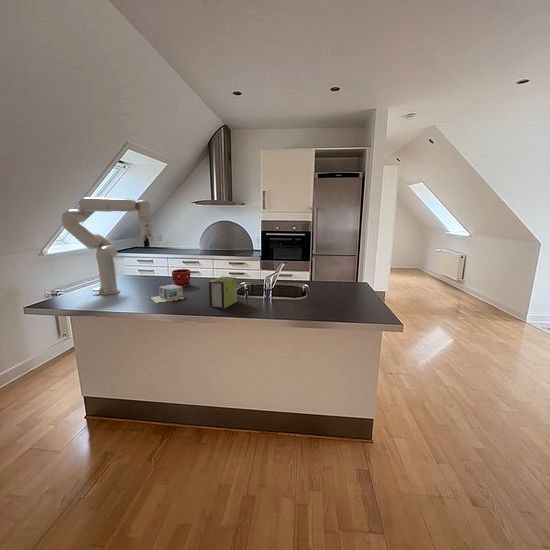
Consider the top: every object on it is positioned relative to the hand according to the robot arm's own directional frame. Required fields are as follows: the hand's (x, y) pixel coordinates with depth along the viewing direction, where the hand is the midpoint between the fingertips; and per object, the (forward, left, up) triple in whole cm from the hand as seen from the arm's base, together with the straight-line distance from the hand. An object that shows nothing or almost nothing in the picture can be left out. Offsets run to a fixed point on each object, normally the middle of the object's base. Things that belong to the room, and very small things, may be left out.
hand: (146, 246), depth 199 cm
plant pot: (+23, +2, -31) cm, 39 cm away
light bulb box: (+6, -18, -27) cm, 33 cm away
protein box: (+30, -55, -31) cm, 70 cm away
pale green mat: (+5, -25, -31) cm, 40 cm away
